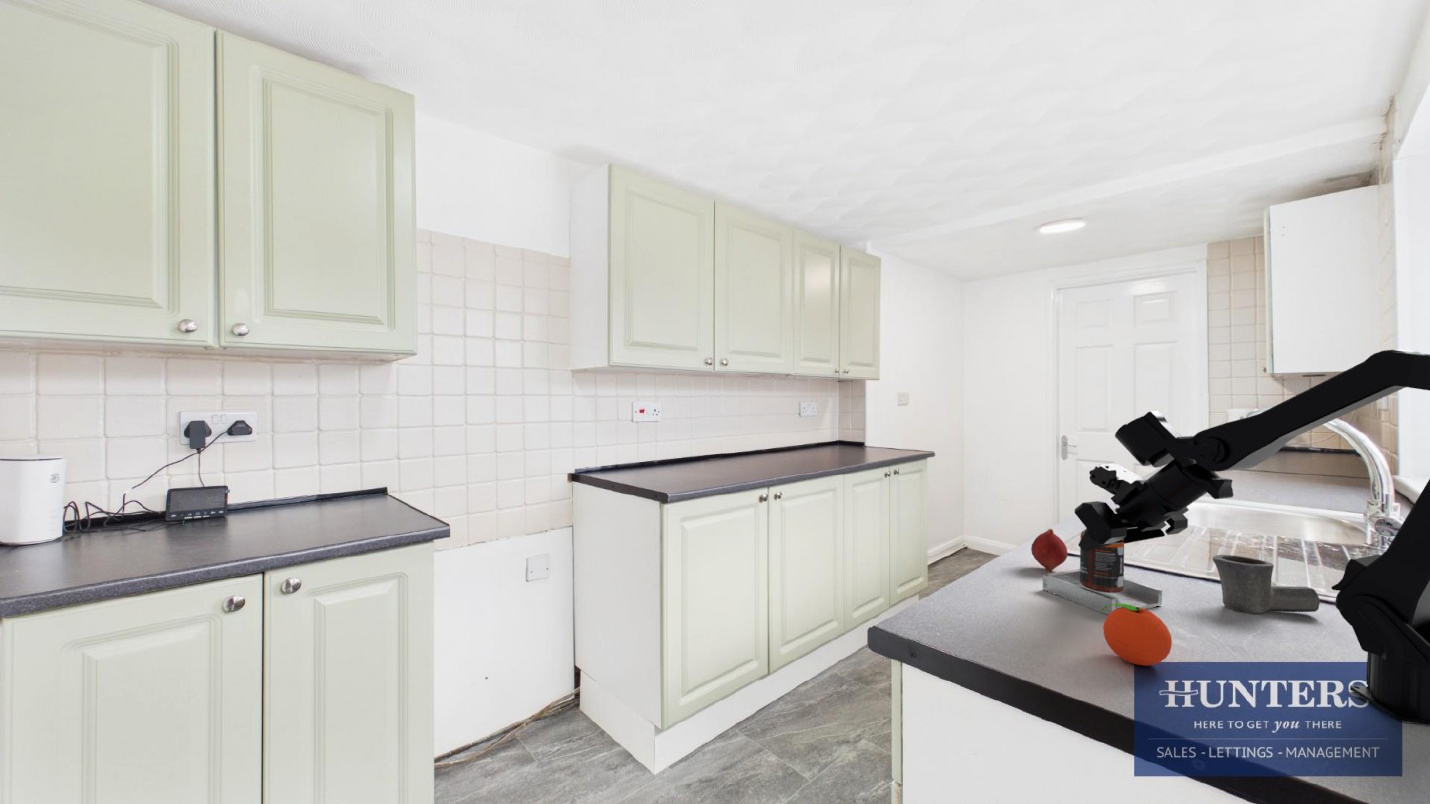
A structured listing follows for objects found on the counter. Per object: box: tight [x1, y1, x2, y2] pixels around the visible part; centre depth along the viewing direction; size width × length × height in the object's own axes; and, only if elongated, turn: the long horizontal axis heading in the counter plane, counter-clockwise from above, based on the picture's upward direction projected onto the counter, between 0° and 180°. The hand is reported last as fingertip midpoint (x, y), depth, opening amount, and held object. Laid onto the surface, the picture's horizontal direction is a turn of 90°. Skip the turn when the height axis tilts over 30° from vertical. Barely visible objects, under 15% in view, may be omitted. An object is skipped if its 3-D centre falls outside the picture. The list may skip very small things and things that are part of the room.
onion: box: [1030, 528, 1068, 571], centre depth 105 cm, size 6×6×8 cm
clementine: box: [1099, 604, 1173, 667], centre depth 71 cm, size 8×7×7 cm
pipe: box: [1212, 554, 1321, 614], centre depth 86 cm, size 6×13×8 cm, turn 77°
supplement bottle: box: [1079, 527, 1125, 593], centre depth 91 cm, size 6×6×11 cm
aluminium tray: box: [1042, 568, 1163, 616], centre depth 91 cm, size 12×12×3 cm
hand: (1094, 545), depth 92 cm, fingers closed on supplement bottle, 6 cm apart
